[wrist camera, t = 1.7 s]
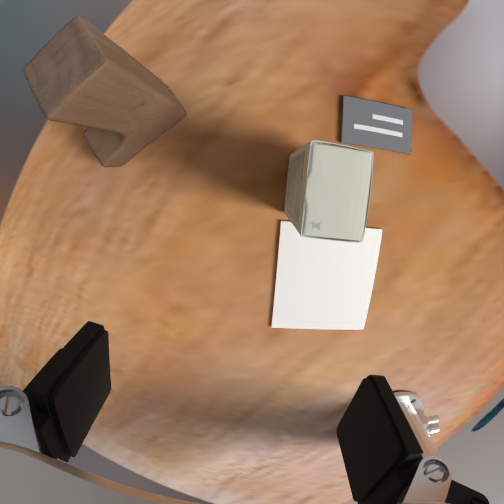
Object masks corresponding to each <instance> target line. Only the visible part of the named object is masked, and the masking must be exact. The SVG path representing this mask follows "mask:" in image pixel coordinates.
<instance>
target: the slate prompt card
mask: <svg viewBox="0 0 504 504" xmlns="http://www.w3.org/2000/svg"><path fill="white" fill-rule="evenodd" d="M411 141H412V110H409V109H405V108H401V107H397V106H393V105H389V104H384V103H380V102H375V101H370V100H365V99H360V98H354V97H348V96H343V101H342V126H341V143H346V144H353V145H359V146H366V147H372V148H378V149H383V150H389V151H394V152H399V153H404V154H411Z"/></svg>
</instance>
